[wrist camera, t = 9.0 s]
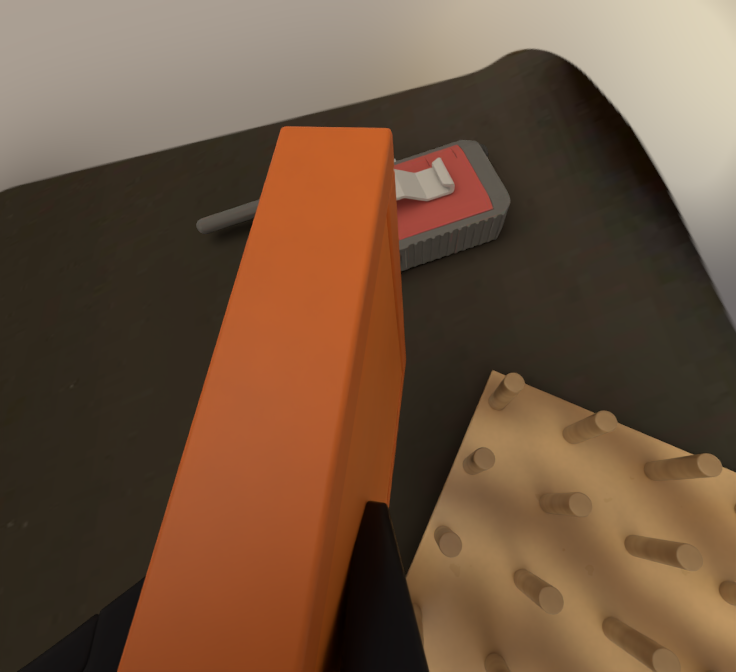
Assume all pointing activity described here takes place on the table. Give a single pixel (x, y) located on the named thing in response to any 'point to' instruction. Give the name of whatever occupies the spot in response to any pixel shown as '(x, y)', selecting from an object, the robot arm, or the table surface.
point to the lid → (286, 424)
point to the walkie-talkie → (429, 203)
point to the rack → (575, 547)
